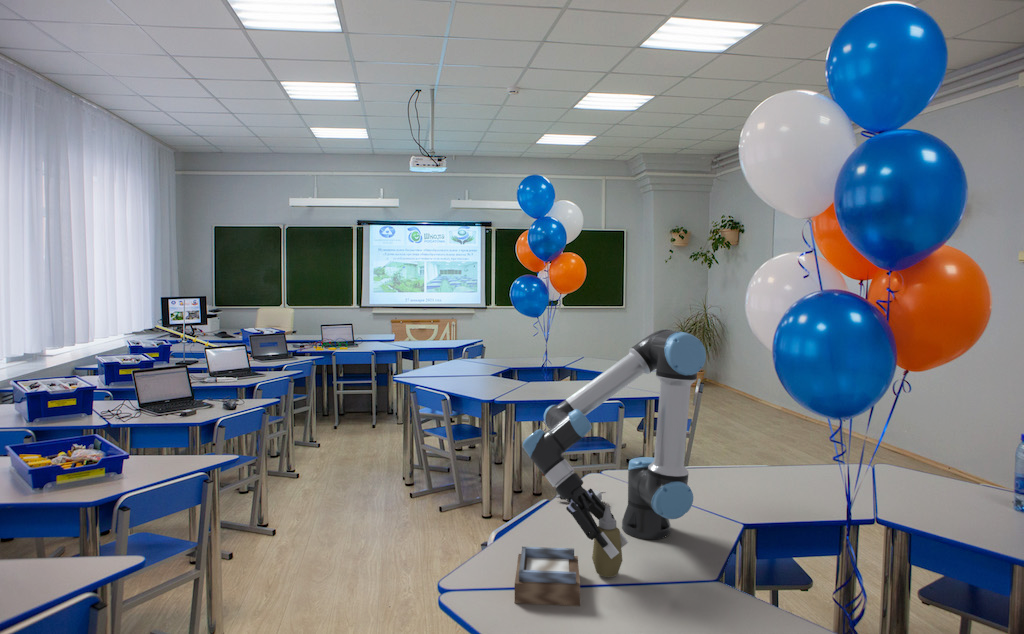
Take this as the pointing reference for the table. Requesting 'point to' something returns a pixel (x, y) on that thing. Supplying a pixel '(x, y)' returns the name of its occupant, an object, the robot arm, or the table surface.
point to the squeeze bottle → (599, 556)
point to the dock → (547, 577)
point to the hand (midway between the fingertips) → (619, 550)
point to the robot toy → (587, 490)
